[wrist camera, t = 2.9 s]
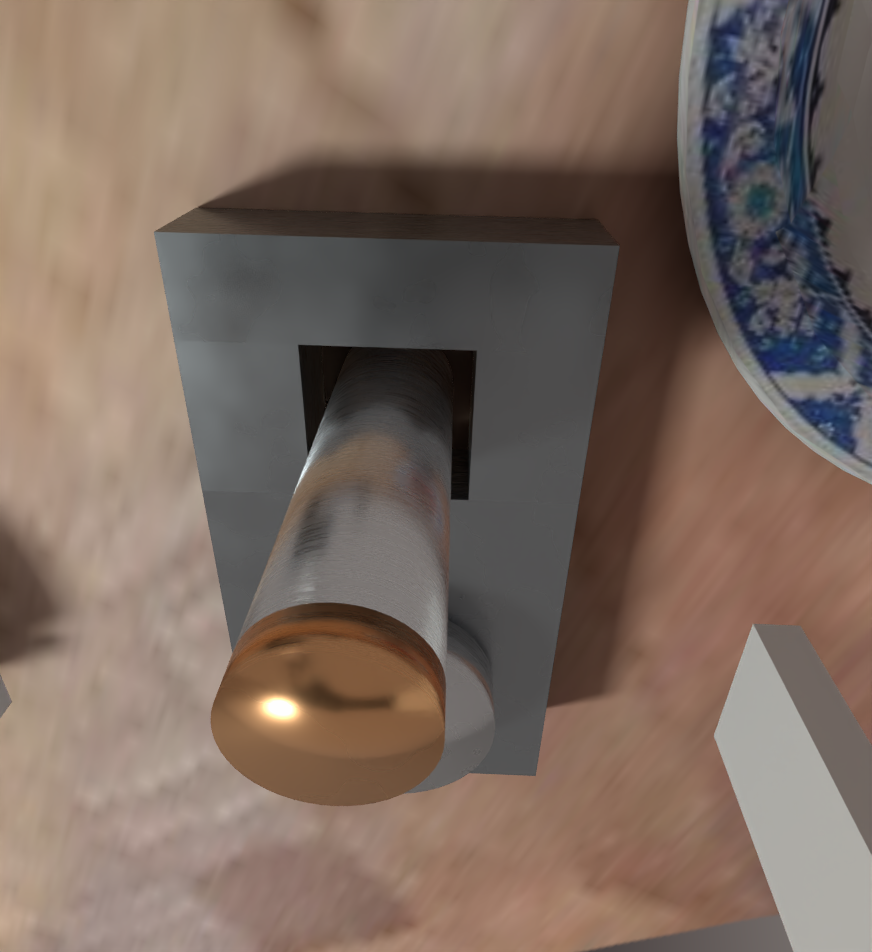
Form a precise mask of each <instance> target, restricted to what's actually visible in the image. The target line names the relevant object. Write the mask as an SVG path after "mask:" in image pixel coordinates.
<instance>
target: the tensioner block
mask: <svg viewBox="0 0 872 952" xmlns="http://www.w3.org/2000/svg"><path fill="white" fill-rule="evenodd" d="M154 235H155V240H156V246H157V251H158V256H159V262H160V267H161V272H162V278H163V283H164V288H165V294H166V299H167V304H168V310H169V315H170V320H171V326H172V331H173V337H174V342H175V347H176V353H177V358H178V363H179V369H180V374H181V379H182V385H183V390H184V395H185V401H186V406H187V412H188V417H189V422H190V428H191V433H192V438H193V444H194V449H195V454H196V460H197V465H198V470H199V476H200V481H201V486H202V492H203V497H204V503H205V508H206V513H207V519H208V524H209V529H210V535H211V540H212V545H213V551H214V556H215V561H216V567H217V572H218V577H219V583H220V588H221V594H222V599H223V604H224V610H225V615H226V620H227V626H228V631H229V636H230V642H231V647H232V652H233V651H234V648H235V645H236V643H237V640H238V638H239V635H240V632H241V630H242V627H243V625H244V622H245V619H246V617H247V614H248V612H249V609H250V606H251V604H252V601H253V598H254V596H255V593H256V591H257V588H258V585H259V583H260V580H261V578H262V575H263V572H264V570H265V567H266V565H267V562H268V559H269V557H270V554H271V551H272V549H273V546H274V544H275V541H276V538H277V536H278V533H279V531H280V528H281V525H282V523H283V520H284V518H285V515H286V512H287V510H288V507H289V504H290V502H291V499H292V497H293V494H294V491H295V489H296V486H297V484H298V481H299V478H300V476H301V473H302V470H303V468H304V465H305V463H306V460H307V457H308V455H309V452H310V450H311V447H312V444H313V442H314V439H315V437H316V434H317V431H318V429H319V426H320V423H321V421H322V418H323V416H324V413H325V410H326V406H325V392H324V377H323V363H322V348H321V345H323V346H353V347H384V348H414V349H445V350H473V360H472V379H471V398H470V416H469V435H468V450H464V449H452V466H451V507H450V548H449V589H448V630H447V671H446V712H445V743H444V750H443V753H442V756H441V759H440V761H439V762H438V764H437V766H436V768H435V769H434V770H433V771H432V773H431V774H430V775H429V776H428V777H427V778H426V779H425V780H424V781H422V782H421V783H420V784H419V785H417V786H416V787H414V788H413V789H411V790H409V791H407V792H405V793H416V792H422V791H428V790H431V789H435V788H439V787H442V786H445V785H447V784H450V783H452V782H454V781H456V780H458V779H460V778H462V777H464V776H465V775H467V774H468V773H481V774H505V775H528V776H536V770H537V764H538V757H539V751H540V745H541V738H542V732H543V726H544V719H545V713H546V707H547V701H548V694H549V688H550V682H551V675H552V669H553V663H554V657H555V650H556V644H557V638H558V631H559V625H560V619H561V612H562V606H563V600H564V594H565V587H566V581H567V575H568V568H569V562H570V556H571V549H572V543H573V537H574V531H575V524H576V518H577V512H578V505H579V499H580V493H581V487H582V480H583V474H584V468H585V461H586V455H587V449H588V442H589V436H590V430H591V424H592V417H593V411H594V405H595V398H596V392H597V386H598V379H599V373H600V367H601V361H602V354H603V348H604V342H605V335H606V329H607V323H608V316H609V310H610V304H611V298H612V291H613V285H614V279H615V272H616V266H617V260H618V254H619V247H620V246H619V245H618V243H617V242H616V241H615V240H614V238H613V237H612V236H611V235H610V234H609V232H608V231H607V230H606V229H605V228H604V226H603V225H602V224H601V223H600V222H599V220H589V219H555V218H522V217H488V216H455V215H421V214H388V213H354V212H320V211H287V210H253V209H220V208H195V209H193V210H191V211H189V212H188V213H186V214H184V215H182V216H181V217H179V218H177V219H175V220H174V221H172V222H170V223H168V224H167V225H165V226H163V227H161V228H160V229H158V230H156V231H155V232H154ZM403 794H404V793H403Z"/></svg>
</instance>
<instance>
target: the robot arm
mask: <svg viewBox="0 0 872 952" xmlns="http://www.w3.org/2000/svg"><path fill="white" fill-rule="evenodd" d="M11 702H12V701H11V698H10V696H9V694H8V691H7V689H6V687H5V684H4V682H3V680H2V677H1V675H0V718H1V716H2V715H3V713H4V712H5V711H6V709H7V708H8V707H9V705H10V704H11ZM714 737H715V740H716V742H717V745H718V748H719V751H720V753H721V756H722V759H723V761H724V764H725V767H726V770H727V772H728V775H729V778H730V780H731V783H732V786H733V789H734V791H735V794H736V797H737V800H738V802H739V805H740V808H741V810H742V813H743V816H744V819H745V821H746V824H747V827H748V829H749V832H750V835H751V838H752V840H753V843H754V846H755V848H756V851H757V854H758V857H759V859H760V862H761V865H762V867H763V870H764V873H765V876H766V878H767V881H768V884H769V886H770V889H771V892H772V895H773V897H774V900H775V903H776V905H777V908H778V911H779V914H780V916H781V919H782V922H783V924H784V927H785V930H786V933H787V935H788V938H789V941H790V943H791V946H792V949H793V952H872V745H871V744H870V742H869V740H868V739H867V737H866V735H865V734H864V732H863V730H862V729H861V727H860V725H859V724H858V722H857V720H856V719H855V717H854V715H853V713H852V712H851V710H850V708H849V707H848V705H847V703H846V702H845V700H844V698H843V697H842V695H841V693H840V692H839V690H838V688H837V687H836V685H835V683H834V682H833V680H832V678H831V676H830V675H829V673H828V671H827V670H826V668H825V666H824V665H823V663H822V661H821V660H820V658H819V656H818V655H817V653H816V651H815V650H814V648H813V646H812V645H811V643H810V641H809V640H808V638H807V636H806V634H805V633H804V631H803V629H802V628H801V626H792V625H769V624H753V625H752V628H751V631H750V634H749V637H748V640H747V642H746V645H745V648H744V651H743V654H742V657H741V660H740V662H739V665H738V668H737V671H736V674H735V677H734V680H733V682H732V685H731V688H730V691H729V694H728V697H727V700H726V703H725V705H724V708H723V711H722V714H721V717H720V720H719V723H718V725H717V728H716V731H715V734H714Z"/></svg>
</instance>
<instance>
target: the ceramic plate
mask: <svg viewBox="0 0 872 952" xmlns="http://www.w3.org/2000/svg"><path fill="white" fill-rule="evenodd" d="M677 148H678V166H679V183H680V196H681V202H682V208H683V215H684V221H685V228H686V234H687V240H688V245H689V249H690V253H691V256H692V260H693V264H694V267H695V271H696V275H697V279H698V282H699V286H700V289H701V292H702V295H703V297H704V300H705V302H706V305H707V307H708V310H709V312H710V315H711V317H712V320H713V322H714V325H715V327H716V330H717V332H718V334H719V336H720V338H721V340H722V342H723V343H724V345H725V347H726V349H727V351H728V353H729V354H730V356H731V358H732V360H733V362H734V364H735V365H736V367H737V369H738V370H739V372H740V373H741V375H742V376H743V377H744V379H745V380H746V382H747V383H748V384H749V386H750V387H751V388H752V390H753V391H754V393H755V394H756V395H757V397H758V398H759V400H760V401H761V402H762V403H763V404H764V405H765V406H766V407H767V408H768V409H769V411H770V412H771V413H772V414H773V415H774V416H775V417H776V418H777V419H778V420H779V421H780V422H781V423H782V424H783V426H784V427H785V428H786V429H788V430H789V431H790V432H791V433H792V434H794V435H795V436H796V437H797V438H798V439H800V440H801V441H802V442H803V443H804V444H806V445H807V446H808V447H809V448H810V449H812V450H813V451H814V452H816V453H817V454H819V455H820V456H822V457H823V458H825V459H827V460H828V461H830V462H831V463H833V464H834V465H836V466H837V467H839V468H841V469H842V470H844V471H845V472H847V473H850V474H852V475H854V476H856V477H858V478H860V479H862V480H864V481H866V482H868V483H870V484H872V0H689V2H688V6H687V14H686V22H685V31H684V39H683V47H682V55H681V63H680V72H679V91H678V119H677Z"/></svg>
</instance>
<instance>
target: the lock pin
mask: <svg viewBox="0 0 872 952" xmlns="http://www.w3.org/2000/svg"><path fill="white" fill-rule="evenodd" d="M452 425H453V373H452V369H451V366H450V363H449V361H448V359H447V357H446V356H445V354H444V353H443V351H442V350H441V349H414V348H384V347H352V349H351V350H350V352H349V353H348V355H347V357H346V359H345V361H344V363H343V366H342V369H341V371H340V374H339V376H338V379H337V382H336V384H335V387H334V390H333V392H332V395H331V397H330V400H329V403H328V405H327V408H326V410H325V413H324V416H323V418H322V421H321V423H320V426H319V429H318V431H317V434H316V437H315V439H314V442H313V444H312V447H311V450H310V452H309V455H308V457H307V460H306V463H305V465H304V468H303V470H302V473H301V476H300V478H299V481H298V484H297V486H296V489H295V491H294V494H293V497H292V499H291V502H290V504H289V507H288V510H287V512H286V515H285V518H284V520H283V523H282V525H281V528H280V531H279V533H278V536H277V538H276V541H275V544H274V546H273V549H272V551H271V554H270V557H269V559H268V562H267V565H266V567H265V570H264V572H263V575H262V578H261V580H260V583H259V585H258V588H257V591H256V593H255V596H254V598H253V601H252V604H251V606H250V609H249V612H248V614H247V617H246V619H245V622H244V625H243V627H242V630H241V632H240V635H239V638H238V640H237V643H236V645H235V648H234V651H233V653H232V656H231V659H230V661H229V664H228V666H227V669H226V672H225V674H224V677H223V679H222V682H221V685H220V687H219V690H218V693H217V695H216V698H215V700H214V704H213V707H212V711H211V728H212V733H213V736H214V739H215V742H216V744H217V746H218V747H219V749H220V751H221V752H222V754H223V755H224V757H225V758H226V759H227V760H228V761H229V762H230V764H231V765H232V766H233V767H234V768H235V769H237V770H238V771H239V772H240V773H241V774H243V775H244V776H245V777H247V778H248V779H250V780H251V781H253V782H254V783H256V784H258V785H260V786H261V787H263V788H265V789H267V790H269V791H272V792H274V793H277V794H279V795H282V796H285V797H288V798H291V799H294V800H298V801H303V802H307V803H313V804H319V805H330V806H354V805H364V804H370V803H376V802H380V801H384V800H388V799H391V798H393V797H396V796H399V795H401V794H403V793H405V792H407V791H409V790H411V789H413V788H414V787H416V786H417V785H419V784H420V783H421V782H422V781H424V780H425V779H426V778H427V777H428V776H429V775H430V774H431V773H432V771H433V770H434V769H435V768H436V766H437V764H438V762H439V761H440V759H441V756H442V753H443V750H444V743H445V712H446V671H447V630H448V589H449V548H450V507H451V466H452Z"/></svg>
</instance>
